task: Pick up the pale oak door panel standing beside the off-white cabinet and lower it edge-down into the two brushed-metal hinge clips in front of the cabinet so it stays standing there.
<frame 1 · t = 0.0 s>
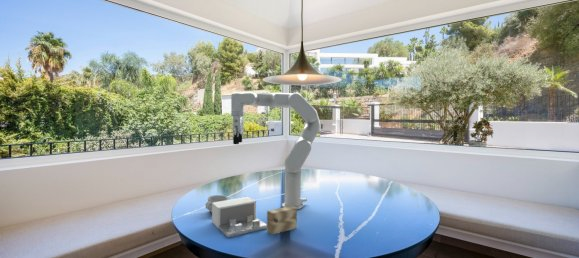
hand: (237, 143, 167), 37 cm above the table, tool pointing down, fingers open, 9 cm apart
teacup: (215, 212, 157), on the table
hinge clips: (244, 229, 135), on the table
door: (282, 230, 135), on the table
cabinet: (234, 221, 145), on the table
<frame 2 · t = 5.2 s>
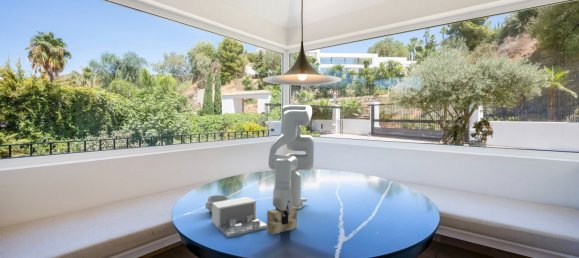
hand: (282, 221, 135), 4 cm above the table, tool pointing down, fingers closed on door, 4 cm apart
door: (282, 229, 135), on the table, touching gripper
everything else where it was.
when the fingers open (6 cm above the table, at t = 10.9 s): door stays where it is, resting on hinge clips.
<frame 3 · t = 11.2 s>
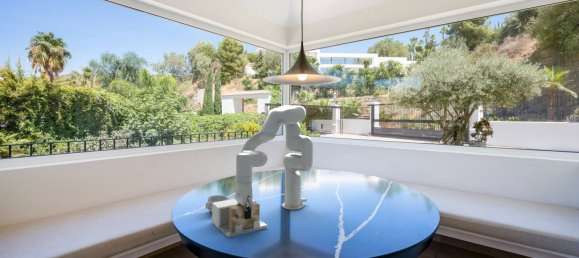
hand: (244, 215, 135), 7 cm above the table, tool pointing down, fingers open, 7 cm apart
door: (244, 226, 135), point 1 cm above the table, touching hinge clips
everything else where it was.
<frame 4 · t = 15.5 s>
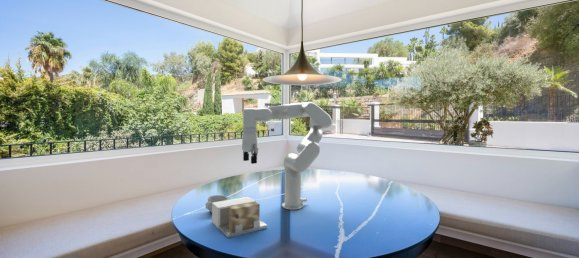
hand: (249, 161, 156), 28 cm above the table, tool pointing down, fingers open, 9 cm apart
nothing on the table moved.
at the end: door 0.1 cm off-centre on the hinge clips, point 1.5 cm above the hinge clips's base; door tilted 0°; the gripper is holding nothing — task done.
